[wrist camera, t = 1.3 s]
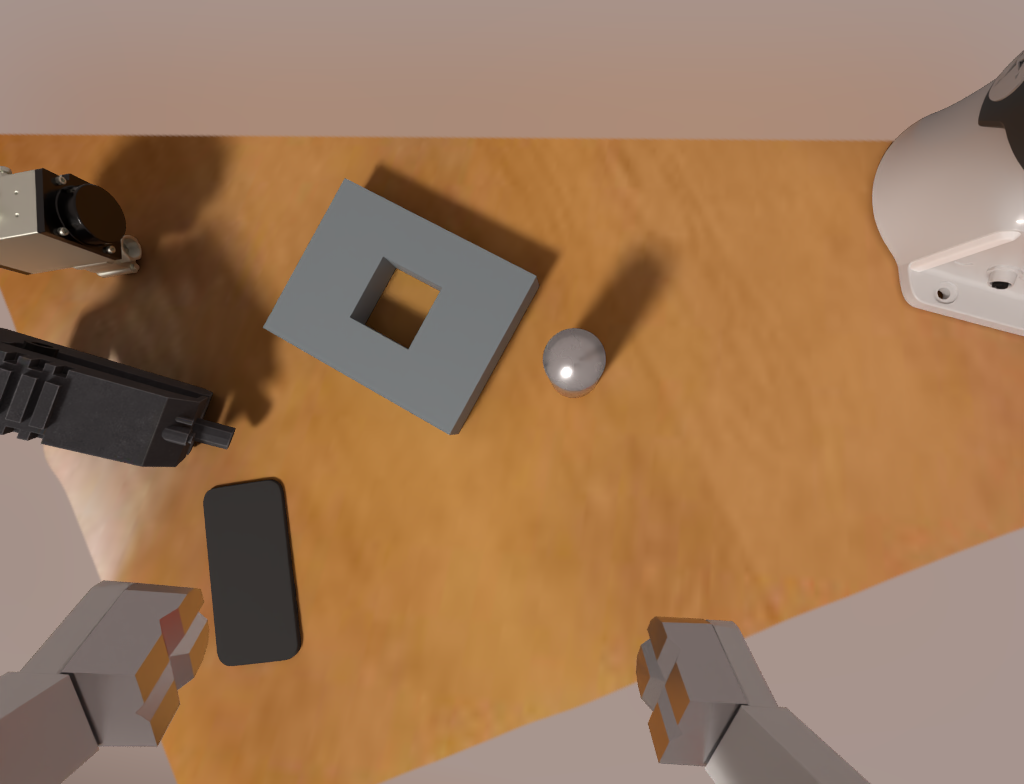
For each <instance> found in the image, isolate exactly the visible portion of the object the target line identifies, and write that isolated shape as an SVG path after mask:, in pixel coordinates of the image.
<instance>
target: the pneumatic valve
mask: <svg viewBox="0 0 1024 784" xmlns="http://www.w3.org/2000/svg"><path fill="white" fill-rule="evenodd" d="M125 231H126V222H125V217H124V214H123V212H122V210H121V208H120V206H119V204H118V203H117V201H116V200H115V199H114V198H113V197H112V196H111V195H110V194H109V193H108V192H107V191H105V190H104V189H102V188H101V187H99V186H96V185H93V184H90V183H88V182H86V181H84V180H82V179H80V178H78V177H76V176H74V175H72V174H65V175H60V176H58V175H56V174H54V173H52V172H50V171H48V170H46V169H44V168H42V169H36V170H31V171H26V172H21V173H15V174H12V171H11V169H9V168H7V167H4V166H0V268H4V269H7V270H11V271H15V272H18V273H22V274H25V275H29V274H35V273H41V272H47V271H53V270H59V269H65V268H71V267H73V268H76V269H78V270H80V269H85V270H87V271H90V272H94V273H97V274H98V275H99V276H101V277H103V278H106V277H112V276H118V275H124V274H131V273H136V272H138V270H139V265H138V264H137V263H135V262H136V260H138V259H141V255H142V250H141V246H140V244H139V243H138V240H137V239H136V238H135V237H133V236H131V235H124V234H125Z"/></svg>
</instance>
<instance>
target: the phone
mask: <svg viewBox="0 0 1024 784" xmlns="http://www.w3.org/2000/svg"><path fill="white" fill-rule="evenodd" d="M203 506H204V517H205V528H206V538H207V549H208V560H209V570H210V581H211V591H212V602H213V613H214V623H215V634H216V644H217V653H218V657H219V659H220V661H221V662H222V663H223V664H225V665H227V666H237V665H246V664H256V663H264V662H273V661H282V660H288V659H290V658H292V657H293V656H295V655H296V654H297V653H298V651H299V650H300V646H301V638H300V629H299V621H298V608H297V601H296V590H295V584H294V577H293V569H292V560H291V552H290V543H289V534H288V526H287V517H286V508H285V500H284V492H283V488H282V486H281V484H280V483H279V482H277V481H275V480H264V481H257V482H250V483H244V484H237V485H231V486H224V487H218V488H213V489H211V490H209V491H208V492H207V493H206V494H205V497H204V501H203Z"/></svg>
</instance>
